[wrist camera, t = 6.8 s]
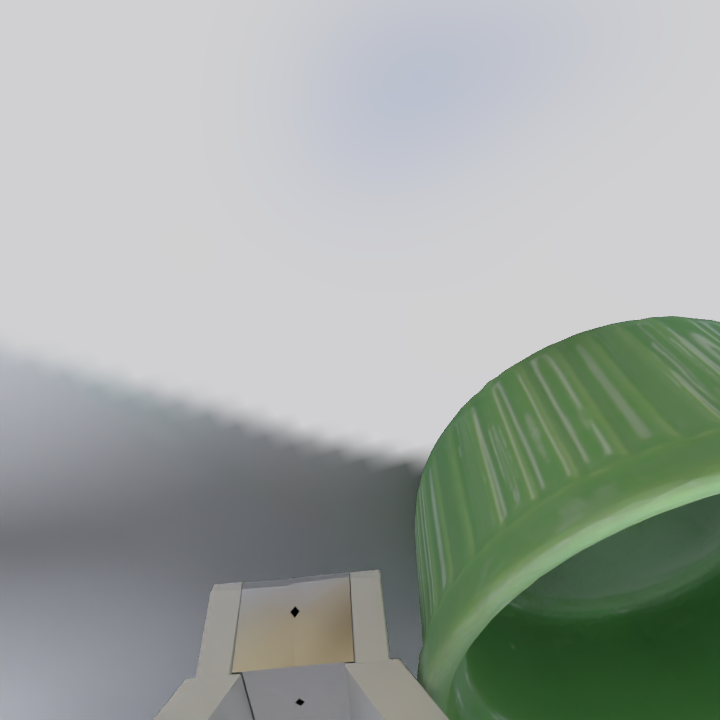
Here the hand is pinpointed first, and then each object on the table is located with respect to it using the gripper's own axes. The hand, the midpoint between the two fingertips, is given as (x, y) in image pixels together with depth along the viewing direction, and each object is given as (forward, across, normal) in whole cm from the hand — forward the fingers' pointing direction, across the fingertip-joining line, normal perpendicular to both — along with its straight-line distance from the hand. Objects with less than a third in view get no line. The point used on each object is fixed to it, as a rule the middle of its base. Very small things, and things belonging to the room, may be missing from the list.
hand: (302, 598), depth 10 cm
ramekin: (+2, +6, 0) cm, 7 cm away
